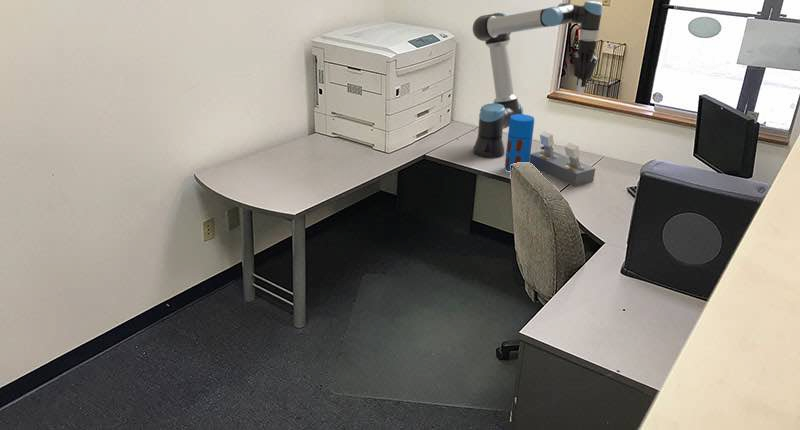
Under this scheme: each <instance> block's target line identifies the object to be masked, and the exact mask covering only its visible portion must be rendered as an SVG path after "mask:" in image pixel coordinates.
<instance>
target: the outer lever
mask: <svg viewBox="0 0 800 430" xmlns="http://www.w3.org/2000/svg"><path fill="white" fill-rule="evenodd" d="M564 151H565V154H566V155H565V156H566V157H569V159H570V163H571V166H573V167H576V168H578V167H579V166H580V163H579V162H580V159H579V157H580V153H581V152H580V148H579V145H577V144H574V143H571V142H569V143H567V144H566V145H565V146H564Z"/></svg>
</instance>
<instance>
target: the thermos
mask: <svg viewBox="0 0 800 430" xmlns="http://www.w3.org/2000/svg"><path fill="white" fill-rule="evenodd" d="M534 127H535V117H534V116H532V115H529V114H525V113H523V114H515V115H512V116H511V117H510V122H509V127H508V131H507V132H508V133H507V142H506V153H505V163H504V170H505V169H506V170H507V171H510V165H511V164H513V163H517V162H530V154H532V153H531V152H532V143H533V135H534Z"/></svg>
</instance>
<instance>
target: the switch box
mask: <svg viewBox="0 0 800 430" xmlns="http://www.w3.org/2000/svg"><path fill="white" fill-rule="evenodd" d="M529 162H530V163H532V164H533V165H534V166H535V167H536V168H537V169H538V170H537V169H536V170H537V171H540V172H542V173H543V174H546V175H547V176H550V177H553V178H555V179H556V180H560V181H561V182H564V183H566V184H567V185H571V186H573V187H577V186H582V185H584V184H588V183H591V182H594V179H595V174H596V168H595V167H593V166H590V165H588V164H585V163H583V162H581V161H579V163H580V166H579V167H578V168H576V167H573V166H571V163H570V159H569V156H567V155H565V154H564V155H563V154H561V153H558V152H556V151H554V150H553V155H552V156H551V157H550V156H548V155H546V154H545V152H544V149H543V150H541V151H537V152H532V153H530V161H529Z"/></svg>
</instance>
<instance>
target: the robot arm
mask: <svg viewBox="0 0 800 430" xmlns="http://www.w3.org/2000/svg"><path fill="white" fill-rule="evenodd" d="M602 12H603V4H602V2H601V1H596V0H595V1H594V0H593V1H592V0H587V1H585V2H584V3H583V5H581V4H580V5H579V4H575V3H574V4H572V3H567V2H566V3H563V2H562V3H559V4H558V5H557V6H551V7H547V8H541V9H536V10H530V11H526V12H519V13H514V14H509V15H507V14H506V13H504V12H494V13H490V14H484V15H480V16H479V17H477V18H476V19H475V21H474V22H473V24H472V34H473V36H474V37H475V38H476V39H477V40H478V41H482V42H485V46H487V47H488V48H489V54H490V61H491V62H490V63H491V70H492V77H493V85H494V90H495V92H494V93H495V98H494V100H493V102H491V103H486V104H484V105H482V106H481V107H480V109H479V115H478V116H479V117H478V128H477V129H478V130H477V131H478V132H477V138H476V141H475V143H474V145H473V147H472V148H473V149H472V153H473V154H474V155H476V156H478V157H481V158H485V159H498V158H501V157H503V156H504V155H505V147H504V142H503V130H504V129H506V128H507V129H508V128H509V122H510V117H511V116H512V115H515V114H524V108H523V106H522V104H521V103H520V102H519V101H518V97H517V96H516V95H515V94H514V87H513V80H512V79H513V78H512V72H511V62H510V56H509V49H508V48H509V47H508V45H509V43H510V41H511V38H510V35H511V34H513V33H517V32H524V31H531V30H535V29H536V30H537V29H542V28H549V27H550V28H552V27H556V26H560V25H565V24H570V23H571V24H578V25H580V26H581V27H580V32H579V40H578V44H577V48H578V50H577V52H575V53H572V58H573V74H574V75H573V76H574V77H576V79H577V80H576V86H577V88H576V95H583V94H584V92H585V87H587V85H586V84H587V80H589V79H592V77H593V73H594V70H595V69H596V68H595V67H596V65H597V63H598V62H599V58H598V57H597V56H595V55H596V53H595V52H596V49H597V44H598V42H597V40H598V37H599V32H600V31H599V30H600V26H601V25H600V24H601V20H602V19H601V18H602V14H603V13H602Z"/></svg>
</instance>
